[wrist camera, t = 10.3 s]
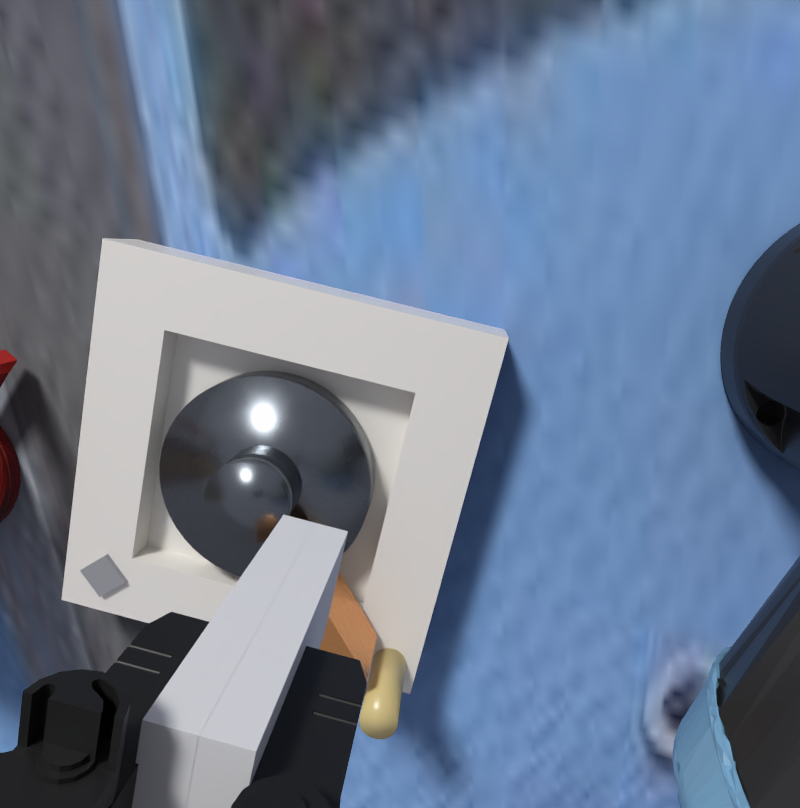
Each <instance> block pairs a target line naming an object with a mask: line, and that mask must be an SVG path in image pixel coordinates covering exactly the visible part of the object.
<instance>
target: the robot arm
mask: <svg viewBox="0 0 800 808" xmlns="http://www.w3.org/2000/svg"><path fill="white" fill-rule="evenodd" d="M721 370H722V376H723V382H724V386H725V389H726V392H727V395H728V398H729V401H730V403H731V405H732V407H733V409H734V411H735V413H736V415H737V416H738V418H739V419H740V421H741V423H742V424H743V425H744V426H745V428H746V429H747V430H748V431H749V433H750V434H751V435H752V436H753V437H754V438H755V439H756V440H757V441H758V442H759V443H761V444H762V445H763V446H764V447H766V448H767V449H768V450H770V451H771V452H773V453H774V454H776V455H777V456H779V457H780V458H782V459H783V460H785V461H786V462H788V463H789V464H791V465H792V466H794V467H796V468H798V469H800V224H799V225H797V226H795V227H794V228H792V229H791V230H790V231H788V232H787V233H786V234H784V235H783V236H782V237H781V238H779V239H778V240H777V241H776V242H775V243H774V244H772V245H771V246H770V247H769V248H768V249H767V250H766V251H765V252H764V253H763V255H762V256H761V257H760V258H759V259H758V260H757V261H756V263H755V264H754V265H753V266H752V268H751V269H750V270H749V272H748V273H747V275H746V276H745V278H744V279H743V281H742V283H741V284H740V286H739V288H738V290H737V292H736V294H735V296H734V298H733V300H732V303H731V305H730V308H729V310H728V313H727V317H726V320H725V324H724V328H723V334H722V340H721ZM347 534H348V531H345V530H341V529H337V528H333V527H329V526H325V525H322V524H318V523H314V522H310V521H306V520H302V519H299V518H295V517H291V516H287V515H283V516H282V518H281V519H280V520H279V522H278V523H277V525H276V526H275V528H274V529H273V531H272V532H271V534H270V535H269V536H268V538H267V539H266V541H265V542H264V544H263V545H262V547H261V548H260V550H259V551H258V552H257V554H256V555H255V557H254V558H253V560H252V561H251V563H250V564H249V566H248V567H247V568H246V570H245V571H244V573H243V574H242V576H241V577H240V579H239V580H238V582H237V583H236V584H235V586H234V587H233V589H232V590H231V592H230V593H229V595H228V596H227V597H226V599H225V600H224V602H223V603H222V605H221V606H220V608H219V609H218V611H217V612H216V613H215V615H214V616H213V618H212V619H211V621H210V622H208V621H204V620H201V619H197V618H193V617H190V616H186V615H182V614H178V613H175V612H170V613H168V614H166V615H164V616H162V617H160V618H158V619H156V620H155V621H153V622H151V623H149V624H147V625H146V626H145V627H144V629H143V630H142V631H141V632H140V633H139V634H138V636H137V637H136V638H135V639H134V640H133V641H132V643H131V645H130V647H127V649H126V650H125V651H124V652H123V653H122V654H121V656H120V657H119V658H118V660H117V662H116V663H114V664H113V665H112V666H111V667H110V669H109V670H108V671H107V672H106V673H103V672H98V671H90V670H82V669H81V670H73V671H65V672H59V673H56V674H54V675H51V676H48V677H45V678H43V679H40V680H38V681H37V682H36V683H34V684H33V685H31V686H30V687H29V688H27V689H26V690H24V691H23V696H22V706H21V716H20V726H19V735H18V745H17V747H16V748H15V749H14V750H13V751H9V752H5V753H0V808H340V797H341V792H342V788H343V784H344V779H345V775H346V771H347V766H348V762H349V757H350V753H351V749H352V744H353V740H354V736H355V731H356V727H357V722H358V718H359V714H360V709H361V705H362V701H363V696H364V692H365V688H366V683H367V681H366V678H365V675H364V672H363V669H362V665H361V662H360V660H357V659H353V658H350V657H346V656H342V655H338V654H335V653H331V652H327V651H324V650H320V649H319V648H320V645H321V642H322V640H323V637H324V633H325V629H326V625H327V620H328V616H329V612H330V607H331V603H332V599H333V594H334V590H335V586H336V582H337V577H338V573H339V569H340V564H341V560H342V556H343V551H344V547H345V543H346V538H347ZM673 766H674V773H675V778H676V781H677V784H678V787H679V789H678V799H679V803H680V807H681V808H800V556H799V558H798V559H797V560H796V562H795V563H794V564H793V566H792V567H791V568H790V570H789V571H788V572H787V574H786V575H785V576H784V578H783V579H782V580H781V582H780V583H779V584H778V586H777V587H776V588H775V590H774V591H773V592H772V594H771V595H770V596H769V598H768V599H767V600H766V602H765V603H764V604H763V606H762V607H761V608H760V610H759V611H758V612H757V614H756V615H755V616H754V618H753V619H752V620H751V622H750V623H749V624H748V626H747V627H746V628H745V630H744V631H743V632H742V634H741V635H740V636H739V638H738V639H737V640H736V642H735V643H734V644H733V646H732V647H726V648H725V649H724V650H723V651H722V652H721V653H720V654H719V655H718V656H717V658H716V659H715V661H714V663H713V664H712V667H711V671H710V674H709V679H708V680H707V682H706V684H705V685H704V687H703V688H702V690H701V691H700V693H699V695H698V696H697V698H696V699H695V701H694V702H693V704H692V705H691V707H690V709H689V710H688V712H687V713H686V715H685V716H684V718H683V719H682V721H681V723H680V725H679V727H678V730H677V733H676V737H675V741H674V748H673Z"/></svg>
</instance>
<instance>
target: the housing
mask: <svg viewBox="0 0 800 808" xmlns="http://www.w3.org/2000/svg"><path fill="white" fill-rule="evenodd" d="M508 340H509V338H508V336H507V334H506V331H505V330H504V329H500V328H496V327H492V326H488V325H484V324H480V323H476V322H472V321H468V320H463V319H459V318H455V317H451V316H447V315H443V314H439V313H435V312H431V311H427V310H423V309H419V308H415V307H411V306H406V305H402V304H398V303H394V302H390V301H386V300H382V299H378V298H374V297H370V296H366V295H362V294H358V293H354V292H349V291H345V290H341V289H337V288H333V287H329V286H325V285H321V284H317V283H313V282H309V281H305V280H301V279H297V278H293V277H288V276H284V275H280V274H276V273H272V272H268V271H264V270H260V269H256V268H252V267H248V266H244V265H240V264H236V263H231V262H227V261H223V260H219V259H215V258H211V257H207V256H203V255H199V254H195V253H191V252H187V251H183V250H179V249H174V248H170V247H166V246H162V245H158V244H154V243H150V242H146V241H142V240H138V239H106V238H103V239H102V248H101V257H100V266H99V275H98V283H97V292H96V301H95V310H94V318H93V327H92V336H91V345H90V354H89V362H88V371H87V380H86V389H85V398H84V406H83V415H82V424H81V433H80V442H79V450H78V459H77V468H76V477H75V485H74V494H73V503H72V512H71V521H70V529H69V538H68V547H67V556H66V565H65V573H64V582H63V591H62V600H64V601H68V602H72V603H75V604H79V605H83V606H86V607H90V608H94V609H98V610H101V611H105V612H109V613H112V614H116V615H120V616H123V617H127V618H131V619H135V620H138V621H142V622H146V623H151V622H153V621H155V620H156V619H158V618H160V617H162V616H164V615H166V614H168V613H170V612H175V613H178V614H182V615H186V616H190V617H193V618H197V619H201V620H204V621H208V622H210V621H211V619H212V618H213V616H214V615H215V613H216V612H217V611H218V609H219V608H220V606H221V605H222V603H223V602H224V600H225V599H226V597H227V596H228V595H229V593H230V592H231V590H232V589H233V587H234V586H235V584H236V583H237V582H238V580H239V579H240V576H237V575H235V574H232V573H229V572H227V571H225V570H223V569H221V568H219V567H217V566H215V565H214V564H212V563H211V562H209V561H208V560H207V559H205V558H204V557H202V556H201V555H200V554H199V553H198V552H197V551H195V550H194V549H193V548H192V547H191V546H190V544H189V543H188V542H187V541H186V540H185V539H184V538H183V536H182V535H181V534H180V532H179V531H178V529H177V528H176V526H175V525H174V523H173V521H172V519H171V517H170V516H169V513H168V511H167V508H166V506H165V503H164V499H163V496H162V492H161V486H160V478H159V464H160V456H161V450H162V447H163V443H164V440H165V437H166V435H167V432H168V430H169V428H170V426H171V424H172V423H173V421H174V420H175V418H176V416H177V415H178V414H179V413H180V412H181V410H182V409H183V408H184V407H185V406H186V405H187V404H188V403H189V402H190V401H191V400H193V399H194V398H195V397H196V396H198V395H199V394H201V393H202V392H204V391H205V390H207V389H209V388H211V387H213V386H214V385H216V384H218V383H220V382H222V381H224V380H226V379H229V378H231V377H233V376H237V375H240V374H243V373H248V372H255V371H279V372H286V373H290V374H294V375H299V376H301V377H304V378H306V379H309V380H312V381H313V382H315V383H317V384H319V385H321V386H323V387H324V388H326V389H327V390H329V391H330V392H331V393H333V394H334V395H336V396H337V397H338V398H339V399H340V400H341V401H342V402H343V403H344V404H345V405H346V406H347V407H348V408H349V409H350V410H351V412H352V413H353V414H354V415H355V417H356V418H357V420H358V421H359V423H360V424H361V426H362V428H363V430H364V432H365V434H366V436H367V438H368V441H369V444H370V447H371V450H372V454H373V459H374V466H375V484H374V492H373V497H372V501H371V504H370V507H369V510H368V512H367V515H366V518H365V520H364V523H363V525H362V528H361V530H360V532H359V533H358V535H357V537H356V539H355V540H354V542H353V543H352V544H351V546H350V547H349V548H348V549H347V550H346V551H345V552H344V553H343V556H342V560H341V564H340V569H339V572H340V574H341V575H342V577H343V579H344V580H345V582H346V584H347V585H348V587H349V589H350V590H351V592H352V594H353V595H354V597H355V599H356V601H357V602H358V604H359V606H360V607H361V609H362V611H363V612H364V614H365V616H366V617H367V619H368V621H369V622H370V624H371V626H372V627H373V629H374V631H375V632H376V634H377V639H376V643H375V648H374V652H373V656H372V661H371V665H370V669H369V674H368V678H367V680H366V681H367V682H368V683H367V687H366V692H365V696H364V701H363V705H362V709H361V714H360V719H359V724H360V727H361V729H362V730H363V732H364V733H365V734H366V735H368V736H370V737H372V738H375V739H385V738H388V737H390V736H391V735H393V734H394V733H395V731H396V729H397V725H398V718H399V711H400V704H401V697H402V692H405V693H408V694H410V693H411V689H412V685H413V682H414V678H415V675H416V671H417V667H418V664H419V660H420V657H421V653H422V649H423V646H424V642H425V639H426V635H427V631H428V628H429V624H430V621H431V617H432V613H433V610H434V606H435V603H436V599H437V595H438V592H439V588H440V585H441V581H442V577H443V574H444V570H445V567H446V563H447V559H448V556H449V552H450V549H451V545H452V541H453V538H454V534H455V531H456V527H457V523H458V520H459V516H460V513H461V509H462V505H463V502H464V498H465V495H466V491H467V487H468V484H469V480H470V477H471V473H472V469H473V466H474V462H475V459H476V455H477V451H478V448H479V444H480V441H481V437H482V433H483V430H484V426H485V423H486V419H487V415H488V412H489V408H490V405H491V401H492V397H493V394H494V390H495V387H496V383H497V379H498V376H499V372H500V369H501V365H502V361H503V358H504V354H505V350H506V347H507V343H508Z"/></svg>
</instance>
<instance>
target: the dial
mask: <svg viewBox="0 0 800 808" xmlns="http://www.w3.org/2000/svg"><path fill="white" fill-rule="evenodd" d="M159 478H160V486H161V492H162V496H163V499H164V503H165V506H166V508H167V511H168V513H169V516H170V517H171V519H172V521H173V523H174V525H175V526H176V528H177V529H178V531H179V532H180V534H181V535H182V536H183V538H184V539H185V540H186V541H187V542H188V543H189V544H190V546H191V547H192V548H193V549H194V550H195V551H197V552H198V553H199V554H200V555H201V556H202V557H204V558H205V559H207V560H208V561H209V562H211V563H212V564H214V565H215V566H217V567H219V568H221V569H223V570H225V571H227V572H229V573H232V574H235V575H237V576H240V577H241V576H242V574H243V573H244V571H245V570H246V568H247V567H248V566H249V564H250V563H251V561H252V560H253V558H254V557H255V555H256V554H257V552H258V551H259V550H260V548H261V547H262V545H263V544H264V542H265V541H266V539H267V538H268V536H269V535H270V534H271V532H272V531H273V529H274V528H275V526H276V525H277V523H278V522H279V520H280V519H281V518H282V516H283V515H287V516H291V517H295V518H299V519H302V520H306V521H310V522H314V523H318V524H322V525H325V526H329V527H333V528H337V529H341V530H345V531H348V534H347V538H346V543H345V547H344V551H343V553H344V552H345V551H346V550H347V549H348V548H349V547H350V546H351V544H352V543H353V542H354V540H355V539H356V537H357V535H358V533H359V532H360V530H361V528H362V525H363V523H364V520H365V518H366V515H367V512H368V510H369V507H370V504H371V501H372V497H373V492H374V484H375V466H374V459H373V454H372V450H371V447H370V444H369V441H368V438H367V436H366V434H365V432H364V430H363V428H362V426H361V424H360V423H359V421H358V420H357V418H356V417H355V415H354V414H353V413H352V412H351V410H350V409H349V408H348V407H347V406H346V405H345V404H344V403H343V402H342V401H341V400H340V399H339V398H338V397H337V396H336V395H334V394H333V393H331V392H330V391H329V390H327V389H326V388H324V387H323V386H321V385H319V384H317V383H315V382H313V381H312V380H309V379H306V378H304V377H301V376H299V375H294V374H290V373H286V372H279V371H255V372H248V373H243V374H240V375H237V376H233V377H231V378H229V379H226V380H224V381H222V382H220V383H218V384H216V385H214V386H213V387H211V388H209V389H207V390H205V391H204V392H202V393H201V394H199V395H198V396H196V397H195V398H194V399H193V400H191V401H190V402H189V403H188V404H187V405H186V406H185V407H184V408H183V409H182V410H181V412H180V413H179V414H178V415H177V416H176V418H175V420H174V421H173V423H172V424H171V426H170V428H169V430H168V432H167V435H166V437H165V440H164V443H163V447H162V450H161V456H160V464H159ZM376 639H377V634H376V632H375V631H374V629H373V627H372V626H371V624H370V622H369V621H368V619H367V617H366V616H365V614H364V612H363V611H362V609H361V607H360V606H359V604H358V602H357V601H356V599H355V597H354V595H353V594H352V592H351V590H350V589H349V587H348V585H347V584H346V582H345V580H344V579H343V577H342V575H341V574H340V572H339V573H338V577H337V582H336V586H335V590H334V594H333V599H332V603H331V607H330V612H329V616H328V620H327V625H326V629H325V633H324V637H323V640H322V642H321V645H320V648H319V649H320V650H324V651H327V652H331V653H335V654H338V655H342V656H346V657H350V658H353V659H357V660H360V662H361V665H362V669H363V672H364V675H365V678H366V680H367V678H368V674H369V669H370V665H371V661H372V656H373V652H374V648H375V643H376Z"/></svg>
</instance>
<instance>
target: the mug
mask: <svg viewBox="0 0 800 808" xmlns="http://www.w3.org/2000/svg"><path fill="white" fill-rule="evenodd" d="M16 362H17V359H16V358H15V357H13V356H12V355H11V354H10V353H8V352H7V351H6V350H1V351H0V387H1V385H2V383H3V382H4V380H5V378H6V376H7V375H8V373H9V372H10V370H11V369H12V367H13V366H14V365H15V363H16ZM19 488H20V467H19V462H18V458H17V454H16V452H15V450H14V447H13V445H12V443H11V441H10V439H9V438H8V436H7V434H6V433H5V431H4V430H3V429H2V427H1V426H0V522H1V521H2V520H3V519H4V518H6V517H7V515H8V514H9V513H10V511H11V510H12V508H13V507H14V505H15V502H16V500H17V497H18V494H19Z"/></svg>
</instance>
